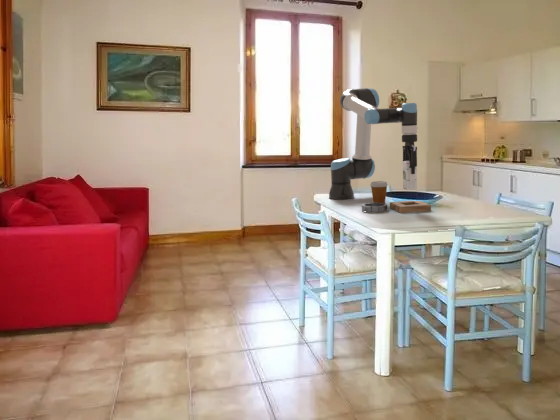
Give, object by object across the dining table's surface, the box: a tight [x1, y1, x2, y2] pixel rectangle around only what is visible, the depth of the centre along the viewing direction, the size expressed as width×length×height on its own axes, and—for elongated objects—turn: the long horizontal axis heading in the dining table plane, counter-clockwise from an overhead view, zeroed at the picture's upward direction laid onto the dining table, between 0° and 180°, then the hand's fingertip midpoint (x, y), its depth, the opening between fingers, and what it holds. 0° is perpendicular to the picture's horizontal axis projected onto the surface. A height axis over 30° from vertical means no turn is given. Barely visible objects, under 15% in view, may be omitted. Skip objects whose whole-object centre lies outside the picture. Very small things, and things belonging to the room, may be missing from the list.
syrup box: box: [402, 160, 418, 191], centre depth 262 cm, size 6×6×14 cm
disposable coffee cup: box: [370, 180, 389, 203], centre depth 285 cm, size 10×10×12 cm
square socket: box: [389, 200, 432, 214], centre depth 265 cm, size 16×16×3 cm
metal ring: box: [361, 202, 388, 213], centre depth 267 cm, size 13×13×3 cm
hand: (409, 179), depth 263 cm, fingers closed on syrup box, 6 cm apart
